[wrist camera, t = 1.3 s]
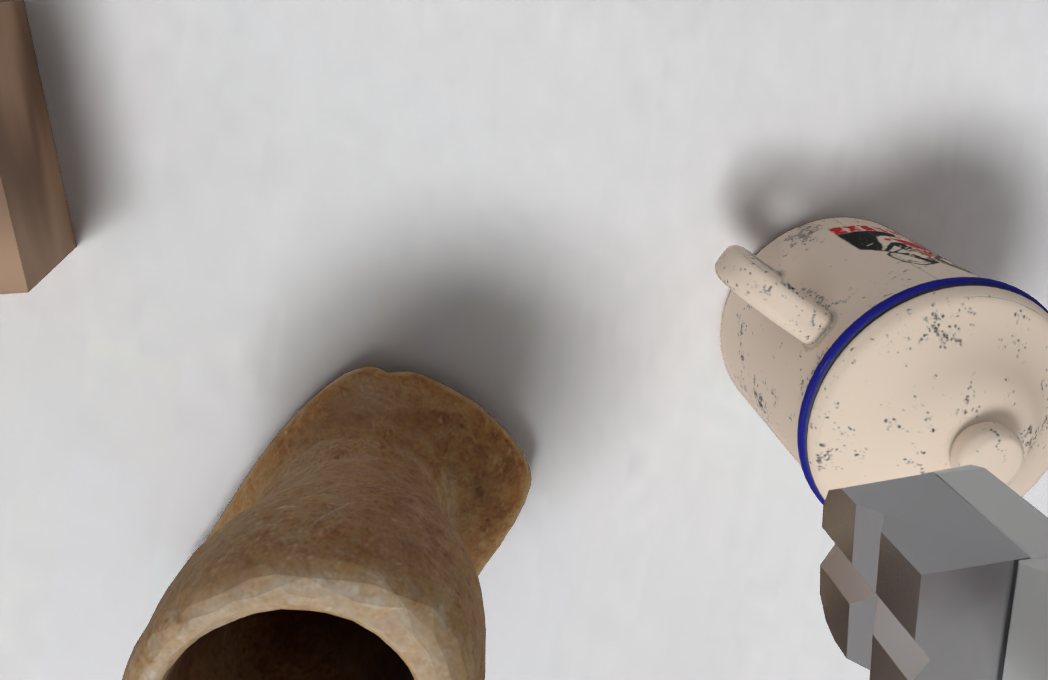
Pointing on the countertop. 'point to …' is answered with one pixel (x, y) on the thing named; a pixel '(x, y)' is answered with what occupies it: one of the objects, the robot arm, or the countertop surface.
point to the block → (27, 165)
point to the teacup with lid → (885, 357)
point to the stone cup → (349, 545)
